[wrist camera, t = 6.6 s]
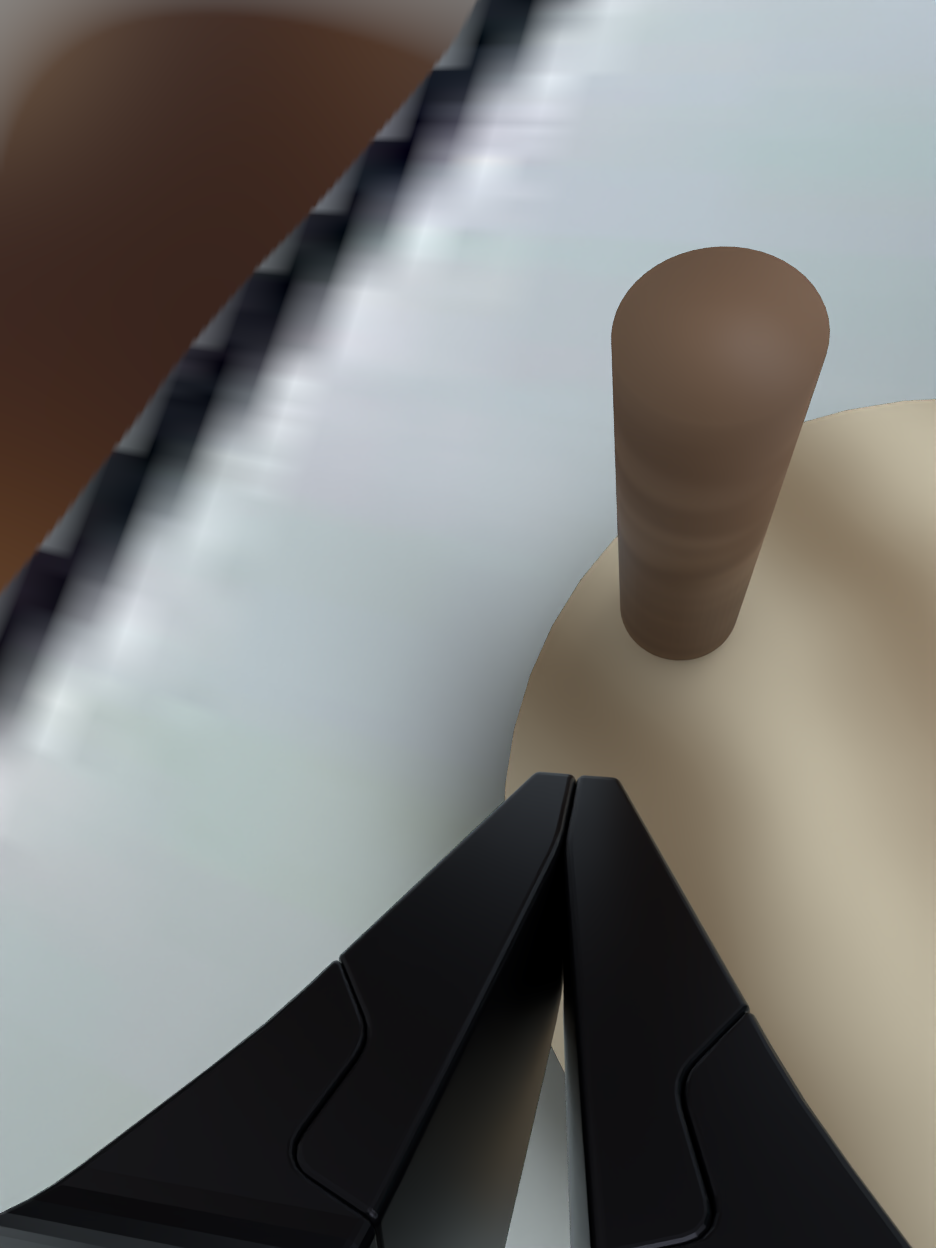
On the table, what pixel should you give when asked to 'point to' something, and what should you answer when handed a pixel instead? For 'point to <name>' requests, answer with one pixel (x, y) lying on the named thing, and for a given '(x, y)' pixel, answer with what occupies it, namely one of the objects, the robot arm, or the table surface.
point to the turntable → (772, 688)
